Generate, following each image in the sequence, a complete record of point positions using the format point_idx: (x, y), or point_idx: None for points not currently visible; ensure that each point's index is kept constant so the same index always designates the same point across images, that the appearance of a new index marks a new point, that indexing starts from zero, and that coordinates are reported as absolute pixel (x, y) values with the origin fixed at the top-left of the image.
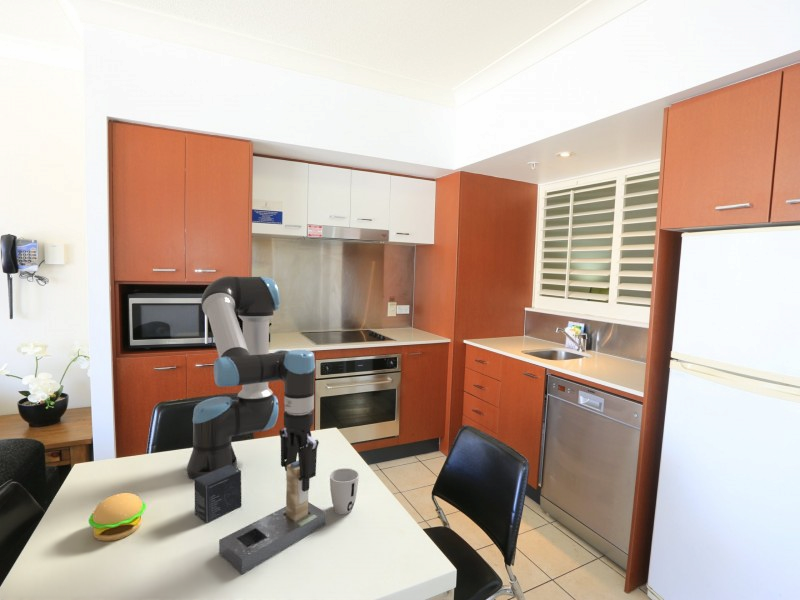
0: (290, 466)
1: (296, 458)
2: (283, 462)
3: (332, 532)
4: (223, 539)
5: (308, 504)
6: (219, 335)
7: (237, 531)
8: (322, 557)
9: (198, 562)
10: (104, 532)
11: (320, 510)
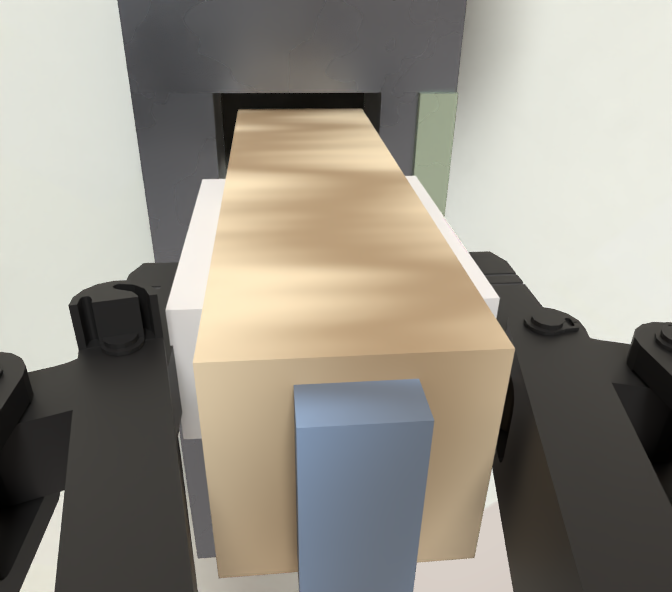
0: (292, 557)
1: (177, 458)
2: (37, 538)
3: (538, 13)
4: (210, 547)
5: (255, 15)
6: None
7: (195, 490)
8: (622, 215)
9: (195, 556)
10: None
11: (413, 4)
